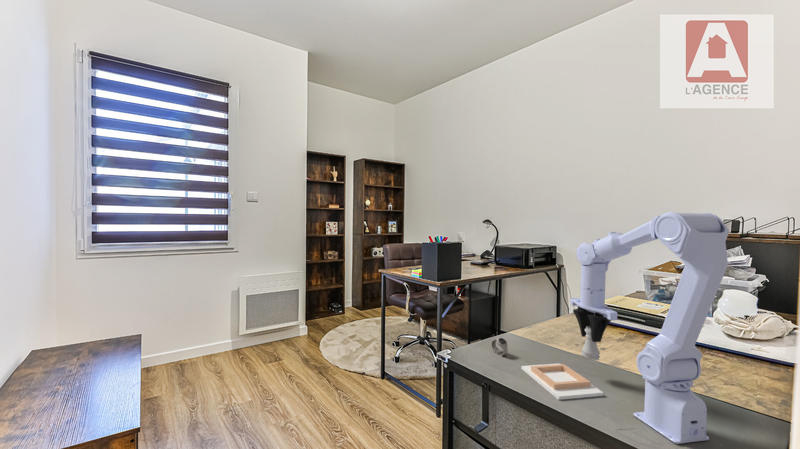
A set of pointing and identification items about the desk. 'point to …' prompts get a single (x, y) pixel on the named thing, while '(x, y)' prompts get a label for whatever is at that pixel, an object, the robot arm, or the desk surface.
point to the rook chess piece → (590, 347)
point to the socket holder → (562, 381)
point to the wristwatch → (502, 344)
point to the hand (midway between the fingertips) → (591, 338)
